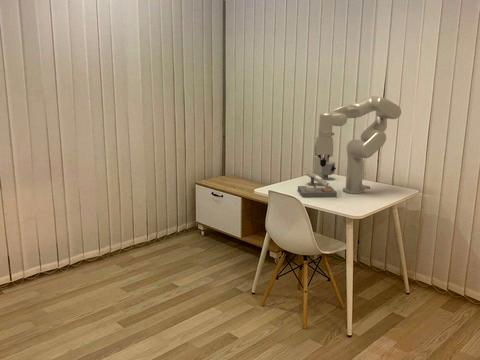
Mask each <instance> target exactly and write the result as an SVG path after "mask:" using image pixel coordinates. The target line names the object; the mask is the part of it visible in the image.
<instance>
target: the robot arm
mask: <svg viewBox="0 0 480 360" xmlns="http://www.w3.org/2000/svg"><path fill="white" fill-rule="evenodd" d="M371 112H375V119H374V121H373V122H372V123H371V124H370V125H369V126H368V127H367V128H366V129H365V130H364V131H362V133H361V135H360V139H352V140H349V142H348V143H347V145H346V154H347V155H346V156H347V163H346V164H347V165H346V178H345V179H346V180H345V187H343V189H342V191H343V192H344V193H346V194H347V193H348V194H353V195H354V194H356V195H357V194H358V195H359V194H364V193H365V190H370V188H371V186H370V185H366V184H365V185H364V184H363V178H364V177H363V176H364V165H365V164H364V163H365V162H364V159H369V158H371V157H373V155H374V154H376V153H377V152H378V151H379V150H380V149H381V148H382V147H383V146H384V145H385V143H386V141H387V134H386V133H385V131H386V130H387V127H388V119H389V120H397V119H398V118H400V117H401V115H402V109H401V107H400V106H399V104H396V103H394V102H393V101H392V100H389V99H387V98H385V97H382V96H369V97H367V98H364V99H362V100H359V101H357V102H355V103H352V104H348V105H345V106H340V107H338V108H335V109H332V110H330V111H329V112H321V113H320V115H319V123H318V134H317V136H316V138H315V143H314V150H313V151H314V156H317V157H319V158H320V165H321V166H322V167H323V166H324V167H325V165H326V160H327V158H329V159H330V158H331V157H333V156H334V155H333V153H334V138H333V136H335V132H333V127H344V126H345V125H346V124H347V123H348V119H356V118H357V119H358V118H361V117H363V116H365V115H368V114H370V113H371ZM323 156H324V158H323Z"/></svg>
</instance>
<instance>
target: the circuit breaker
mask: <svg viewBox="0 0 480 360" xmlns="http://www.w3.org/2000/svg"><path fill="white" fill-rule="evenodd" d="M323 158H324V155H323ZM312 163H314V167H313V171H312V172H313V173H314V174H316V175H317V176H319V177H321V178H322V179H323V180H326V178H327V179H328V178H329V176H331V175H334V174H335V170H337V168H336V162H333V161H330V157H329V158H327V160H326V165H325V167H324V166H323V167H322V166H321V165H320V158H319V157H317V156H315V155H314V157H313V162H312Z"/></svg>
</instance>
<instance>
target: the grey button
mask: <svg viewBox="0 0 480 360" xmlns="http://www.w3.org/2000/svg"><path fill="white" fill-rule="evenodd" d="M305 186H306V189H305V191H306V192H314V190H315V188H314V186H308V185H305Z"/></svg>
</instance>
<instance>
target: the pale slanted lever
mask: <svg viewBox="0 0 480 360" xmlns="http://www.w3.org/2000/svg"><path fill="white" fill-rule="evenodd" d="M305 175H306V176H308V177H309V178H310V179H311V176H313V177H314V182H316V183H317V184H319V185H320V186H329V184H330V183H329V182H328V181H327V180H326V179H324V180H323V179H322V178H321V177H319V176H317V175H316V174H314V173H313V171H311V170H309V172H306V174H305Z"/></svg>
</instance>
